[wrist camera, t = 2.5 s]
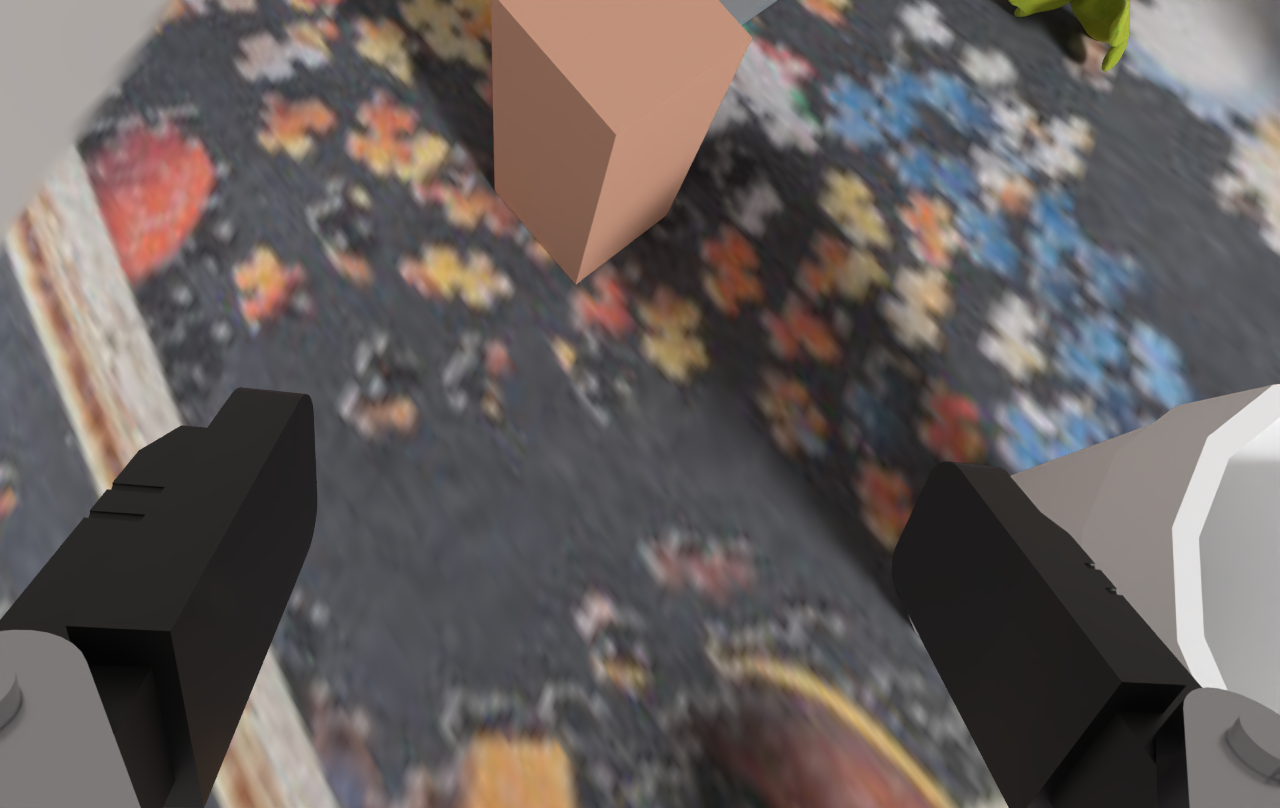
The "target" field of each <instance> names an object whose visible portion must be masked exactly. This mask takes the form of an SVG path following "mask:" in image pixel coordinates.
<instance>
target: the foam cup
mask: <svg viewBox="0 0 1280 808" xmlns="http://www.w3.org/2000/svg"><path fill="white" fill-rule="evenodd" d="M1011 478H1012V479H1013V480H1014V481H1015V482H1016V484H1017V485H1018V486H1019V487H1020V488H1021V489H1022V491H1023V492H1024V493H1025V494H1026V495H1027V497H1028V498H1029V499H1030V500H1031V501H1032V503H1033V504H1034V505H1035V506H1036V507H1037V508H1038V510H1039V511H1040V512H1041V513H1043V514H1044V515H1045V516H1047V517H1048V518H1049V519H1051V520H1052V521H1053V522H1055V523H1056V524H1057V525H1059V526H1060V527H1061V528H1063V529H1064V530H1065V531H1067V532H1068V533H1069V534H1070V535H1071V536H1072V537H1073V538H1074V540H1075V541H1076V542H1077V543H1078V544H1079V545H1080V546H1081V548H1082V549H1083V550H1084V551H1085V552H1086V553H1087V555H1088V556H1089V557H1090V558H1091V559H1092V560H1093V562H1094V563H1095V569H1098V570H1101V571H1102V572H1103V573H1104V574H1105V575H1106V577H1107V578H1108V579H1109V580H1110V581H1111V582H1112V584H1113V585H1114V586H1115V587H1116V588H1117V590H1116V593H1117V595H1123V596H1124V597H1125V599H1126V600H1127V601H1128V602H1129V603H1130V604H1131V606H1132V607H1133V608H1134V609H1135V610H1136V611H1137V612H1138V614H1139V615H1140V616H1141V617H1142V618H1143V619H1144V621H1145V622H1146V623H1147V624H1148V625H1149V626H1150V628H1151V629H1152V630H1153V631H1154V632H1155V633H1156V635H1157V636H1158V637H1159V638H1160V639H1161V640H1162V641H1163V643H1164V644H1165V645H1166V646H1167V647H1168V648H1169V650H1170V651H1171V652H1172V653H1173V654H1174V655H1175V657H1176V658H1177V659H1178V660H1179V661H1180V662H1181V663H1182V665H1183V666H1184V667H1185V668H1186V669H1187V670H1188V672H1189V673H1190V674H1191V675H1192V676H1193V677H1194V679H1195V680H1196V681H1197V682H1198V683H1199V684H1200V685H1201V687H1202V688H1207V687H1209V688H1219V689H1223V690H1228V691H1231V692H1234V693H1237V694H1240V695H1243V696H1245V697H1248V698H1250V699H1252V700H1255V701H1256V702H1258V703H1260V704H1262V705H1264V706H1266V707H1268V708H1270V709H1271V710H1273V711H1275V712H1276V713H1278V714H1279V715H1280V384H1277V385H1270V386H1266V387H1261V388H1256V389H1252V390H1247V391H1243V392H1238V393H1233V394H1229V395H1224V396H1220V397H1215V398H1210V399H1206V400H1201V401H1197V402H1192V403H1188V404H1183V405H1178V406H1175V407H1174V408H1173V409H1171V410H1170V411H1169V412H1167V413H1166V414H1165V415H1163V416H1162V417H1161V418H1159V419H1158V420H1157V421H1156V422H1154V423H1153V424H1150V425H1147V426H1145V427H1142V428H1139V429H1136V430H1134V431H1131V432H1128V433H1126V434H1123V435H1120V436H1117V437H1115V438H1112V439H1109V440H1106V441H1104V442H1101V443H1098V444H1095V445H1093V446H1090V447H1087V448H1085V449H1082V450H1079V451H1076V452H1074V453H1071V454H1068V455H1065V456H1063V457H1060V458H1057V459H1054V460H1052V461H1049V462H1046V463H1044V464H1041V465H1038V466H1035V467H1033V468H1030V469H1027V470H1024V471H1022V472H1019V473H1016V474H1014V475H1011ZM909 618H910V617H909ZM910 621H911V619H910ZM911 623H912V621H911ZM912 626H913V628H914V631H915V633H916V634H917V635H918V636H919V634H918V632H917V630H916V628H915V627H914V625H913V623H912ZM919 637H920V636H919Z"/></svg>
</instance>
